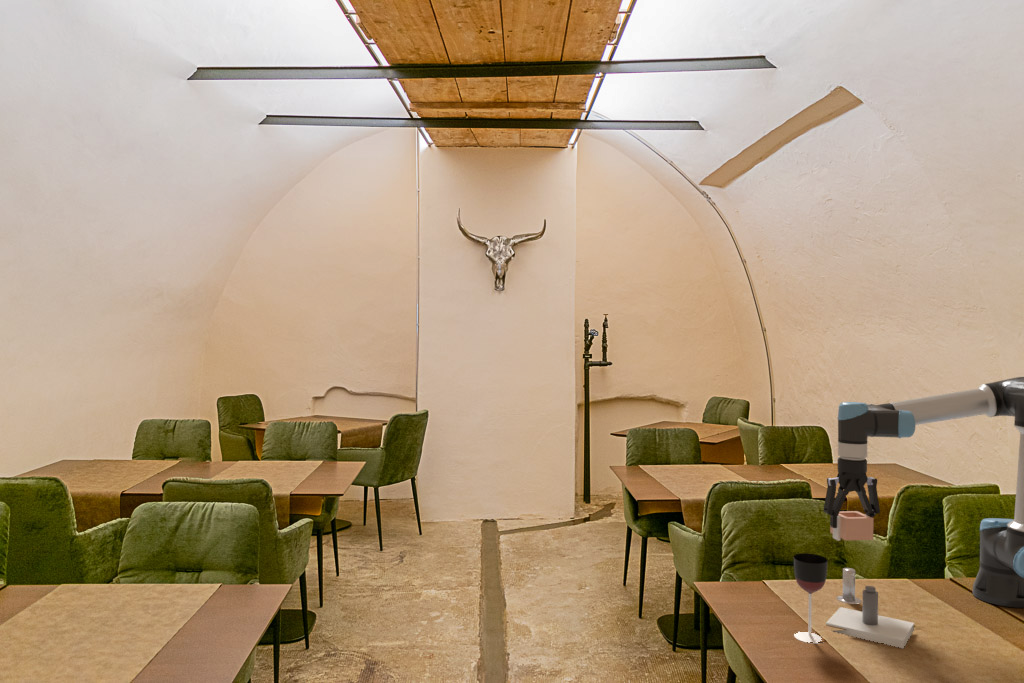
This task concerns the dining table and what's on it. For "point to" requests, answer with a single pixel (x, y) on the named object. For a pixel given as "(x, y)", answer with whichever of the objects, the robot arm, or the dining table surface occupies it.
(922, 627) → the dining table surface
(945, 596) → the dining table surface
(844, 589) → the stand
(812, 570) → the wineglass
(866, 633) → the base plate with rod
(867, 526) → the collar
